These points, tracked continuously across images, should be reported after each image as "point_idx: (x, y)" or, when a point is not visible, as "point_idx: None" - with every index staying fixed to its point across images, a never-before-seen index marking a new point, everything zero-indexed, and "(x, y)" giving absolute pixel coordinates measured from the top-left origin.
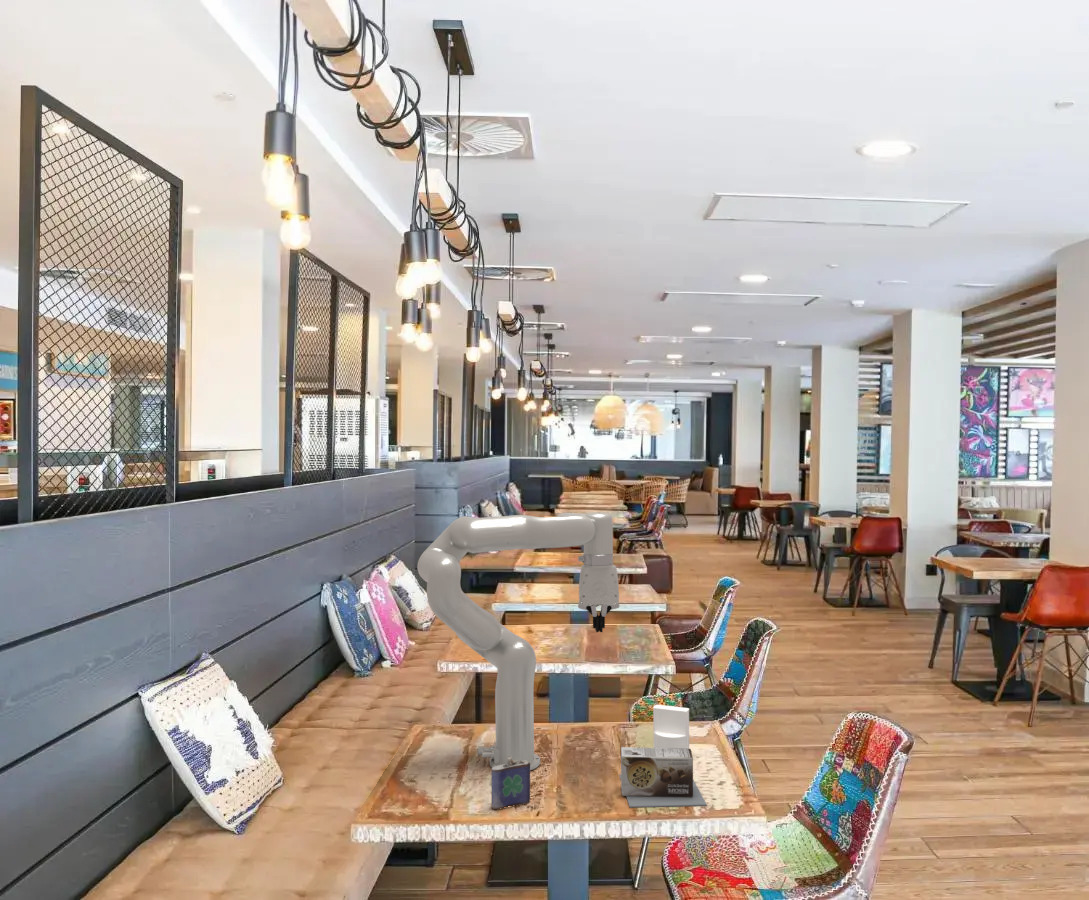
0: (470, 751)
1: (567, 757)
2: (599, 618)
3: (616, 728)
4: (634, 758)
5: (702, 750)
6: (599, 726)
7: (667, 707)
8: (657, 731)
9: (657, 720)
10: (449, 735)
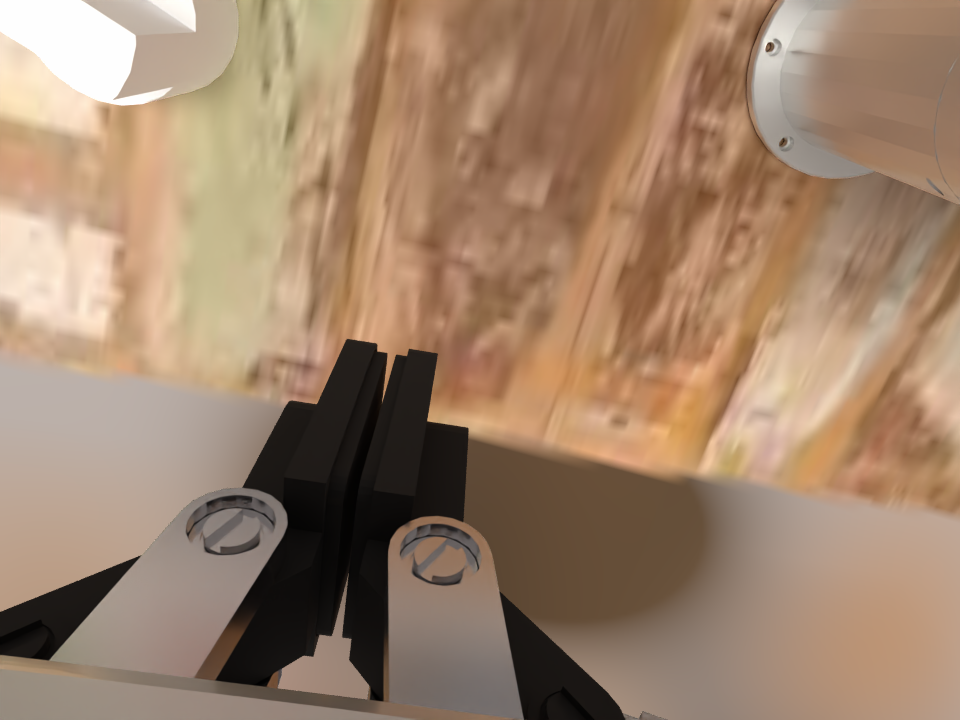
0: (956, 252)
1: (615, 90)
2: (347, 495)
3: None
4: None
5: None
6: None
7: (45, 23)
8: (176, 18)
9: (148, 19)
10: (947, 422)
